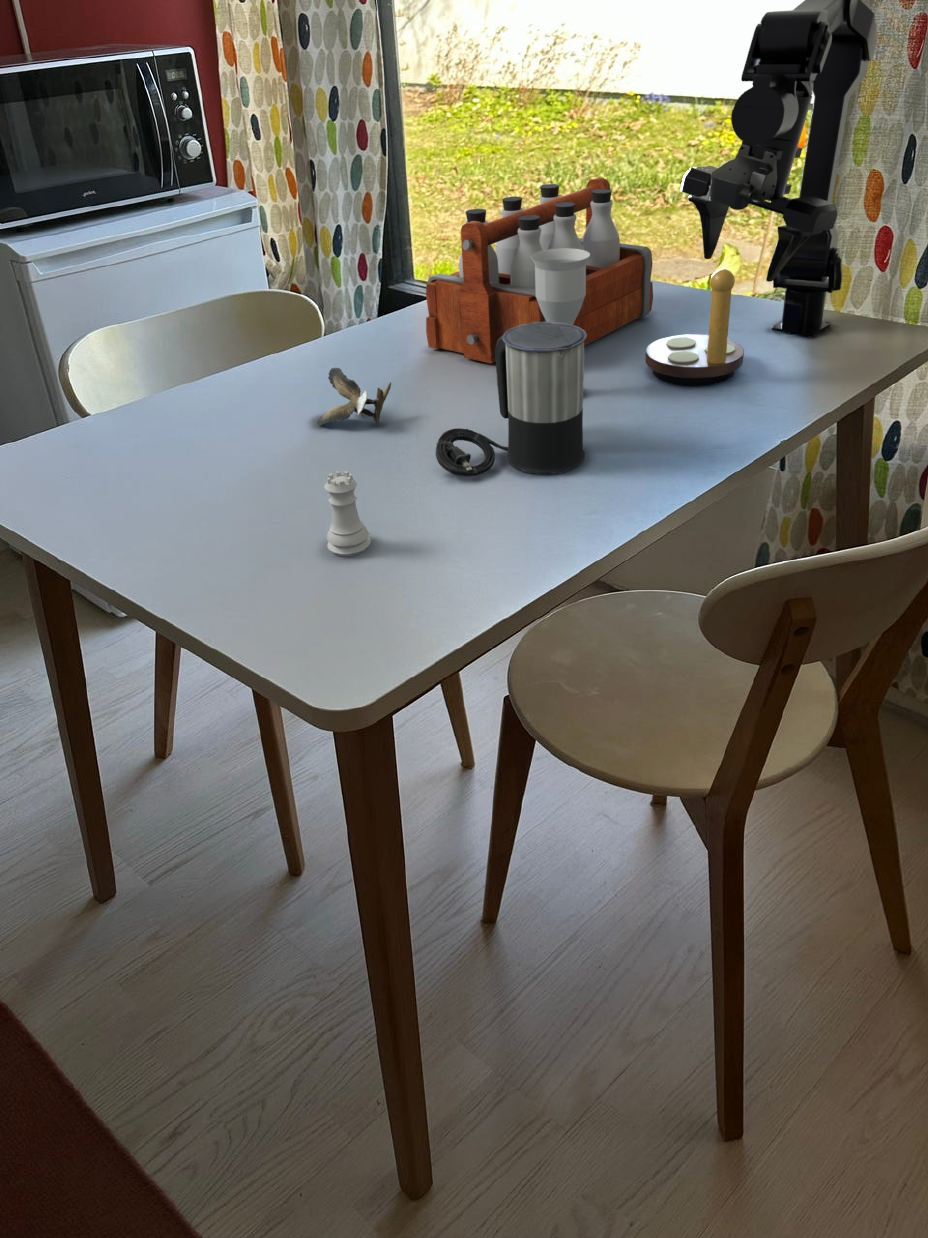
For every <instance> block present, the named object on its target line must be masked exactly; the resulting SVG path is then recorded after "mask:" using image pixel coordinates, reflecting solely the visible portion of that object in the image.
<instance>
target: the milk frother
mask: <svg viewBox="0 0 928 1238" xmlns="http://www.w3.org/2000/svg"><path fill="white" fill-rule="evenodd" d="M586 337H587V334H586V332H585V331H584V330H583V329H581V328H580V327H577V326H574V325H571V324H566V323H560V322H533V323H529V324H524V325H519V326H516V327H513V328H511V329H509V330H507V331H506V332H505V333H504V335H503V336H501V337H500V338H499V339H498V341H497V344H496V349H495V360H496V361H495V370H496V380H497V394H498V395H497V396H498V406H499V414H500V415H501V417H502V418H503V419H505V420H506V419H508V420H507V422H508V425H507V426H508V429H507V430H508V433H507V435H508V439H507V441H508V442H507V443H508V444H507V446H504V445H501V444H499V443H497V442H495V441H494V440H492V439H491V438H489V437H488V436H486V435H483V434H482V433H479V432H477V431H474V430H473V429H469V428H461V427H459V428H456V427H455V428H451V429H448V430H446V431H445V432H443V433H442V434H441V435H440V436H439V438H438V440H437V442H436V443H435V444H436V446H435V458H436V461H437V463H438V465H439V466H440V467H441V468H442V469H443V470H445V471H447V472H448V473H450V474H452V475H455V476H457V477H458V476H459V477H476V476H480V475H483V474H485V473H488V472H489V471H490V470H492V467H493V466H494V464H495V461H496V453H495V450H494V448H498V449H500V450H502V451H506V452H507V453H506V457H505V458H506V462H507V463H508V464H509V465H510V466H511V467H512V468H514V469H516V470H518V471H521V472H525V473H531V474H535V475H536V474H537V475H538V474H539V475H552V474H559V473H564V472H568V471H570V470H573V469H576V468H577V467H578V466H580V465H582V463H583V462H584V461H585V458H586V450H584V433H583V432H584V427H583V423H584V422H583V418H584V414H583V413H584V408H583V405H584V379H585V378H584V375H585V346H584V341H585V339H586ZM458 441H464V442H468V443H471V444H474V445H476V446H477V447H478V448H480V449H481V450H482V452H483V455H484V459H483V460H482V461H481V462H480V463H478V464H476V465H472V466H471V464H470V462H471V461H470V460H471V459H472V456H471V455H472V454H470V453H466V452H465V451H464V450H462V448H460V447H459V446H456V445H454V442H458ZM493 447H494V448H493Z"/></svg>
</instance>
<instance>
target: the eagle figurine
mask: <svg viewBox="0 0 928 1238" xmlns="http://www.w3.org/2000/svg"><path fill="white" fill-rule="evenodd" d="M327 374H328V377H327V379H328V380H329V383H330V384H331V385H332V386H331V387H332V388H333V389H335V390H336V391H337V393H338V394H339V395H340V396H341V397H343V398H345V399H347V400H349V401H348V402H347V403H344V404H341V405H337V406H334V407H331V408H330V409H328V410H327V411H326V413H324V415H323V416H320V417H319V418H317V420H316V424H317V426H323V425H326V424H327V423H331V422H336V421H337V422H342V421H345V420H348V419H349V418H351V415H353V413H356V415H357V416H361V417H363V416H364V415H365V416H367V417H371V418H373V420H374V422H375V424H376V425H377V427H379V426H380V425H381V422H380V418H381V413H382V410H383V406H384V403H385V401H386V400H387V396H388V395H389V393H390V390H391V387H392V382H391V381H390V382H389V383H388V384H387V386H386V387H385V390H383V389H381V388H380V387H377V390H376V398H375V399H371V398H368V391H367V390H364V391H363V393H362V394H361V392H362V390H361V388H360V387H359V384H358V383H357V382H355V380H354V379H350V378H348V377H347V375H346V374H344V372H343V370H342V369H341V368H340V367H332V368H330V370H329V371H328V373H327ZM366 405H368V406H369V405H373V406H374V411H373V412H372V411H371V410H370V409H368V408H365V406H366Z"/></svg>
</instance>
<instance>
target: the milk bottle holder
mask: <svg viewBox="0 0 928 1238" xmlns="http://www.w3.org/2000/svg"><path fill="white" fill-rule="evenodd" d="M539 189H540V196H539V198H538V199H539V204H536V205H534V206H531V207H528V208H526V209H524V208H523V207H522V204H523V197H521V196H507V197H503V198H502V206H503V208H502V209H501V215H502V217H500V218H497V219H495V220H492V221H488V220H487V219H486V218H487V217H486V216H487V209H485V208H472V209H467V210H466V211H465V216H466V221H465V223H464V224H463V225H461V228H460V241H461V242H460V243H461V244H460V245H461V254H460V256H459V261H458V269H459V270H458V271H456V272H453V273H451V274H445V273H436V274H434V275H431V276H429V278H428V279H427V283H426V287H425V299H426V305H427V313H428V316H426V317H425V323H426V324H425V334H426V340H427V345H428V346H427V347H428V348H431V349H436V350H437V349H441V350H445V351H451V352H453V353H459V354H463V358H464V359H465V358H466V359H470V360H472V361H473V360H474V361H477V362H478V361H479V362H483V363H486V364H493V363H496V360H495V349H496V344H497V341H498V339H499V338H500V337H501V336H503V335H504V333H505V332H506V331H507V330H509V329H511V328H513V327H516V326H519V325H524V324H529V323H533V322H547V321H546V319H545V318H544V316H543V314H542V312H541V309H540V307H539V304H538V301H537V298H536V290H535V264H534V263H533V261H532V259H531V255H532V254H534V253H536V252H539V251H543V250H549V249H559V248H571V249H580V250H585V251H587V252H589V253H590V256H589V258H588V260H587V262H586V295H585V297H584V300H583V303H582V306H581V309H580V311H579V313H578V315H577V317H576V319H575V322H574V324H573V325H574V326H577V327H580V328H581V329H583V330H584V331H585V332H586V334H587V337H586V339H585V341H584V347H585V346H587V345H589V344H591V343H593V342H594V341H597V340H598V339H601V338H602V337H604V336H606V335H608V334H609V333H612V332H613V331H615V330H617V329H619V328H621V327H624V326H625V325H627V324H628V323H631V322H632V321H634V320H640V319H643V318H645V317H647V316H648V315H649V314H650V312H651V311H652V309H653V300H654V288H653V287H654V286H653V282H652V271H653V264H654V263H653V255H652V251H651V249H650V247H648V246H646V245H645V246H644V245H636V244H629V243H621V241H620V240H621V239H620V234H619V233H620V232H619V230H618V229H617V227H616V225H615V222H614V220H613V217H612V213H611V212H612V208H613V204H614V203H613V200H611V198H612V189H611V184H610V182H609V180H608V179H606V178H604V177H595V178H592V179H590V180H589V181H587V183H586V187H585V188H581V189H580V190H576V191H574V192H570V193H567V194H564V195H562V196H561V195H560V194H559V192H560V191H559V190H560V184H556V183H547V184H542V185H540V186H539ZM583 210H585V230H584V233H583V235H582V237H579V236H578V234H577V232H576V227H575V226H576V221H577V214H576V213H579V212H581V211H583ZM494 244H495V248H494V247H493V245H494Z"/></svg>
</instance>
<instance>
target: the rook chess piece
mask: <svg viewBox="0 0 928 1238" xmlns="http://www.w3.org/2000/svg"><path fill="white" fill-rule="evenodd" d="M334 475H335V476H334ZM326 480H327V481H326V483H325V485H324V490H325V491H326V492H327V493H328V494H329V495H330V496H329V498H328V503H329V504H330V505H331V524H330V525H329V530H328V531H327V534H326V539H327V544H326V546H327V549H328V550H329V551H330V552H331V553H332V554H334V555H335V556H338V557H344V558H345V557H348V558H349V557H354V556H358V555H361V554H362V553H364V552H365V551H367V550H368V548H369V546H370V544H371V541H372V540H371V538H370V536H369V535H370V533H369V530H368V528H367V526H366V525H365V524H364V521H362V520H361V518H360V516H359V512H358V509H357V503H356V501H357V499H358V496H357V495H356V494H355V490H356V488H357V487H358V481H356V480H355V478H354V477H353V474H352V473H350V472H349V471H347V470H344V471H343V474H341V471H340V470H338V471H337V470H336V471H334V474H333V473H329V474H327V477H326Z"/></svg>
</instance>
